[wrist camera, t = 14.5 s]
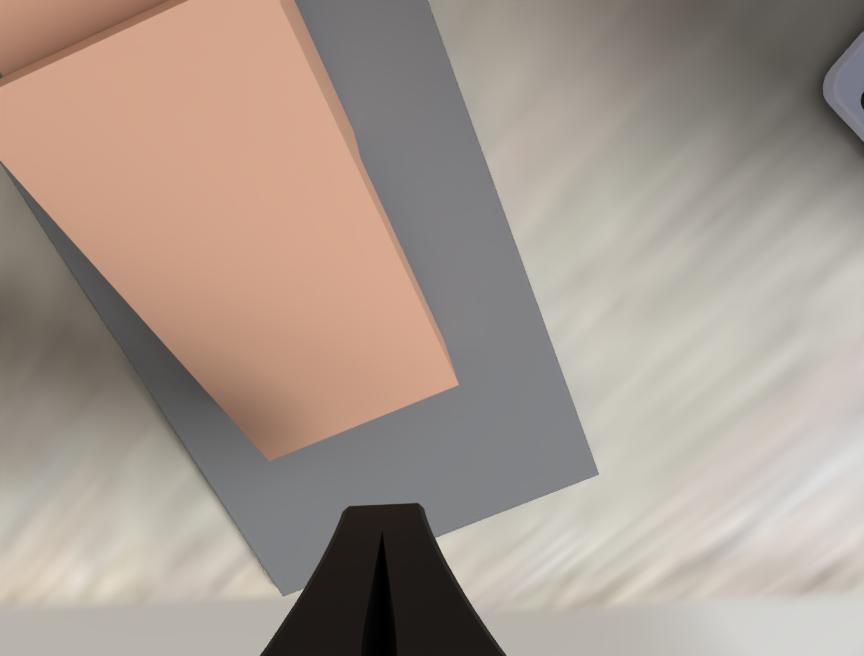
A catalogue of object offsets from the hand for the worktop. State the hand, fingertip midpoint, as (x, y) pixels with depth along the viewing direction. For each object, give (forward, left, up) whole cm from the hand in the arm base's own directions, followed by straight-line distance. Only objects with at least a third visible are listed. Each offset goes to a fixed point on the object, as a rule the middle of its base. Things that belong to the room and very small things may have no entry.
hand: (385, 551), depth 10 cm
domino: (+1, -1, -3) cm, 4 cm away
